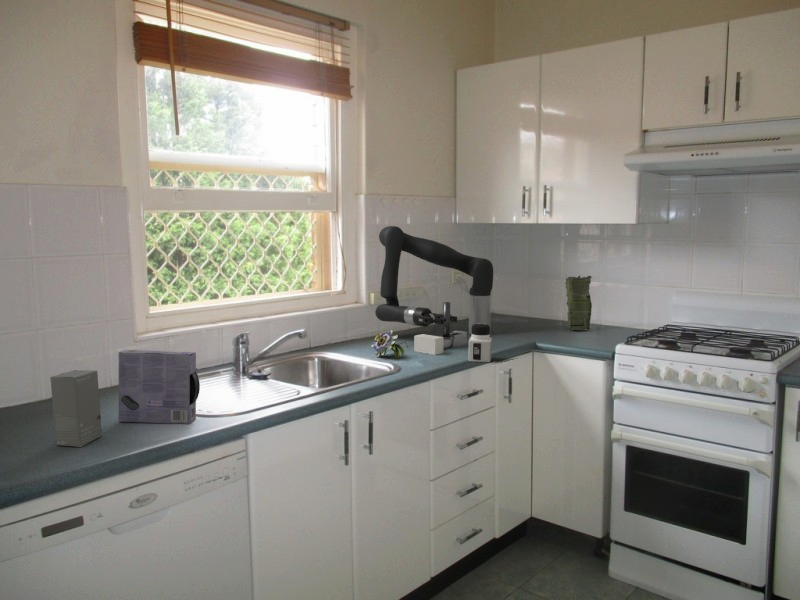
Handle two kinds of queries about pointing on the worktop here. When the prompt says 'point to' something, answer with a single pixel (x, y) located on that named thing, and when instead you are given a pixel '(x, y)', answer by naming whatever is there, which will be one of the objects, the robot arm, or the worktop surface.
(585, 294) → the pouch
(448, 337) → the tube
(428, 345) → the socket block
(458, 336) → the sleeve
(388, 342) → the passion flower
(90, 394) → the skincare box
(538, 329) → the worktop surface
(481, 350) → the container
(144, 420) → the cake pan box
